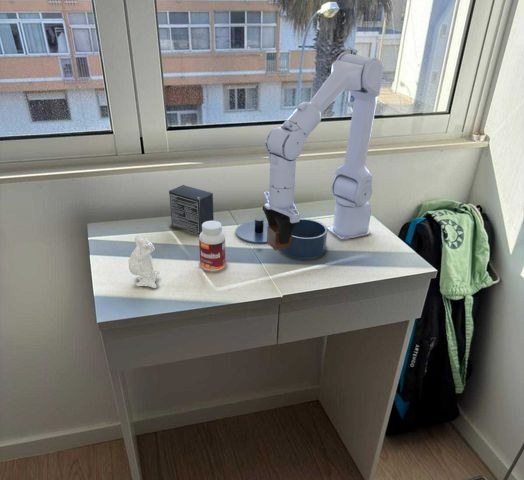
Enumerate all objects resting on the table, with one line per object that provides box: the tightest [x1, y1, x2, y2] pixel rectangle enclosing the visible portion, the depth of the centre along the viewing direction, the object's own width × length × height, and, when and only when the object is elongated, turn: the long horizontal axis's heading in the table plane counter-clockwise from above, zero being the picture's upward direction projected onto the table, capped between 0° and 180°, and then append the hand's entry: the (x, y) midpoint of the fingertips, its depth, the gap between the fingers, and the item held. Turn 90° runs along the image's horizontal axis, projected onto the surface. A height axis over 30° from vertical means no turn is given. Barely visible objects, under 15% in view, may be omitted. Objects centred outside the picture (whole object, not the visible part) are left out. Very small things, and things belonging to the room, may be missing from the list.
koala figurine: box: [128, 236, 160, 289], centre depth 117 cm, size 8×7×12 cm
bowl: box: [281, 218, 329, 259], centre depth 134 cm, size 12×12×6 cm
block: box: [266, 224, 292, 251], centre depth 126 cm, size 4×4×4 cm
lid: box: [235, 216, 268, 245], centre depth 140 cm, size 13×13×5 cm
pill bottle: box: [198, 220, 226, 272], centre depth 124 cm, size 6×6×11 cm
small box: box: [168, 184, 215, 236], centre depth 140 cm, size 11×6×10 cm, turn 58°
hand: (279, 238), depth 126 cm, fingers closed on block, 4 cm apart
